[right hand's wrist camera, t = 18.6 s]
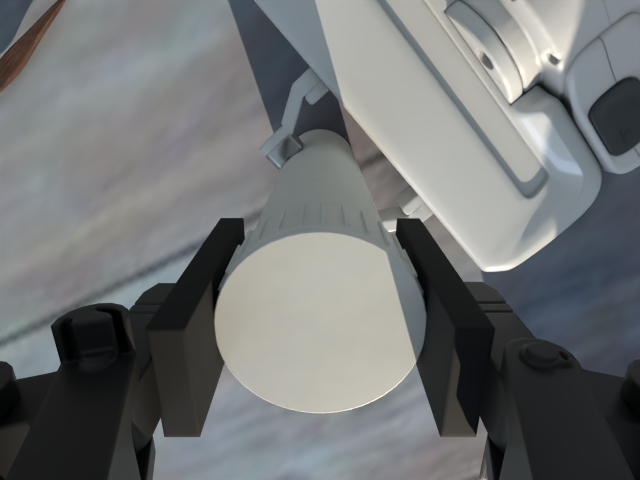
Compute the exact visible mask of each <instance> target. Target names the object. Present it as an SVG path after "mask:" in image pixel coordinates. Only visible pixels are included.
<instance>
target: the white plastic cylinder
mask: <svg viewBox="0 0 640 480" xmlns="http://www.w3.org/2000/svg"><path fill="white" fill-rule="evenodd" d="M299 138H300V140H301V141H302V142H303V145H302V146H303V147H302V149H301V150H300V151H298V152H297V153H296V154H295V155H294V156H292V157H288V160H287V162H286V163H285V164H284V165H283V166H282V167H281V169H280V172H279V174H278V177H277V179H276V181H275V184H274V186H273V188H272V191H271V193H270V196H269V198H268V200H267V203H266V205H265V208H264V210H263V212H262V215H261V217H260V220H259V222H258V224H257V226H259V225H260V224H261V222H262V220H263V219H264V218H265V217H266V218H267V219H268V218H270V217H272V216H274V215H275V214H277V213H279V212H280V209H283V208H284V209H285V210H287V209H290V208H293V207H297V206H300V203H304V205H309V204H321V202H325V204H332V205H339V206H342V204H345V205H346V207H347V208H351V209H354V210H356V211H359V212H361V211H362V210H363V211H365V213H366V215H367V216H369V217H371V218H372V219H374V220H376V221H377V222H378V221H379V220H380V221H381V219H380V216H379V214H378V211H377V209H376V207H375V204H374V202H373V199H372V197H371V195H370V192H369V190H368V187H367V185H366V183H365V180H364V178H363V176H362V173H361V171H360V168H359V166H358V164H357V161H356V159H355V156H354V154H353V152H352V149H351V147H350V146H349V144H348V143H347V141H346V140H345V139H344V138H343V137H341V136H340V135H338V134H337V133H335V132H332V131H329V130H324V129H316V130H311V131H308V132H306V133H304V134H302V135H300V136H299ZM381 222H382V221H381Z"/></svg>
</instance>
